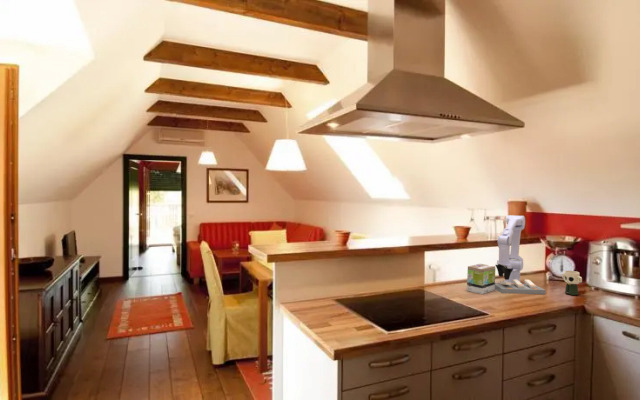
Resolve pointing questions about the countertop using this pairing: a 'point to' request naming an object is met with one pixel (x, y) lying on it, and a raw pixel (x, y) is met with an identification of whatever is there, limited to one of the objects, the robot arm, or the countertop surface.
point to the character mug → (571, 281)
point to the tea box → (481, 278)
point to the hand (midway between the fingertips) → (503, 278)
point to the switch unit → (518, 289)
